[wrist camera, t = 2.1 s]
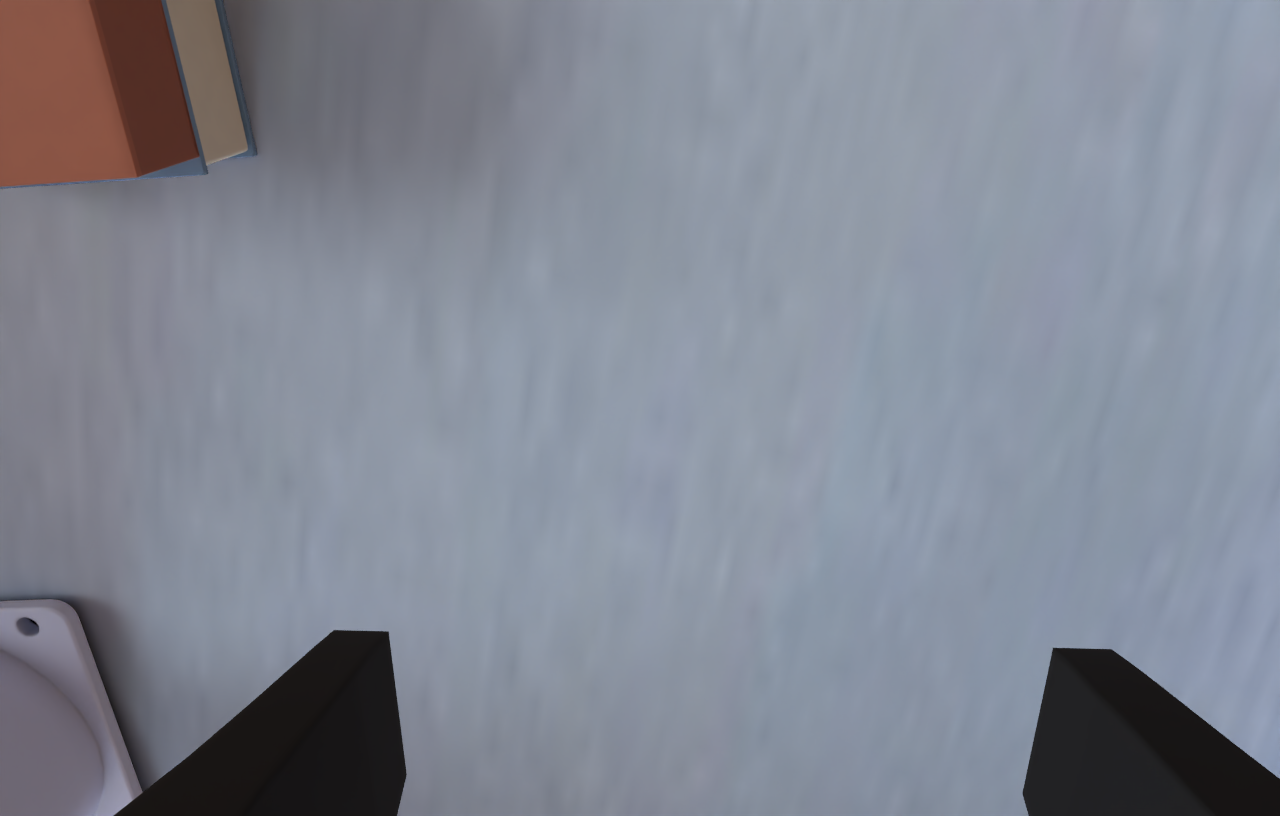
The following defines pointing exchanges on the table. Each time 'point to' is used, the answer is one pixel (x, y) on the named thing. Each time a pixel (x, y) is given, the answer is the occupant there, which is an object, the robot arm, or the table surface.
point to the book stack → (117, 91)
